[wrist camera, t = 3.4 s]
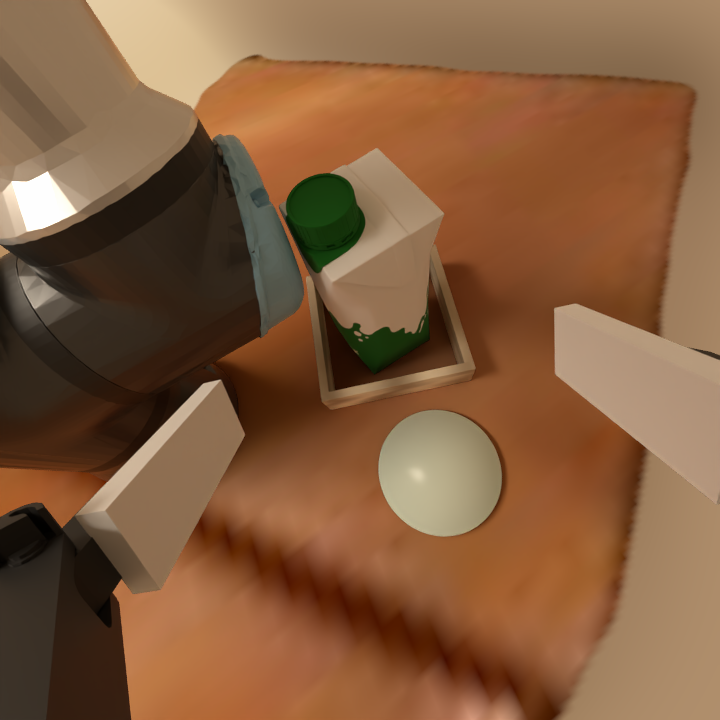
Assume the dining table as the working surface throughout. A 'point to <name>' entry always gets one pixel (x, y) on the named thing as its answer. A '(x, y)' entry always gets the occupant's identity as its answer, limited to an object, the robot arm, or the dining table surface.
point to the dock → (399, 384)
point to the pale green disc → (440, 473)
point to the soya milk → (368, 253)
